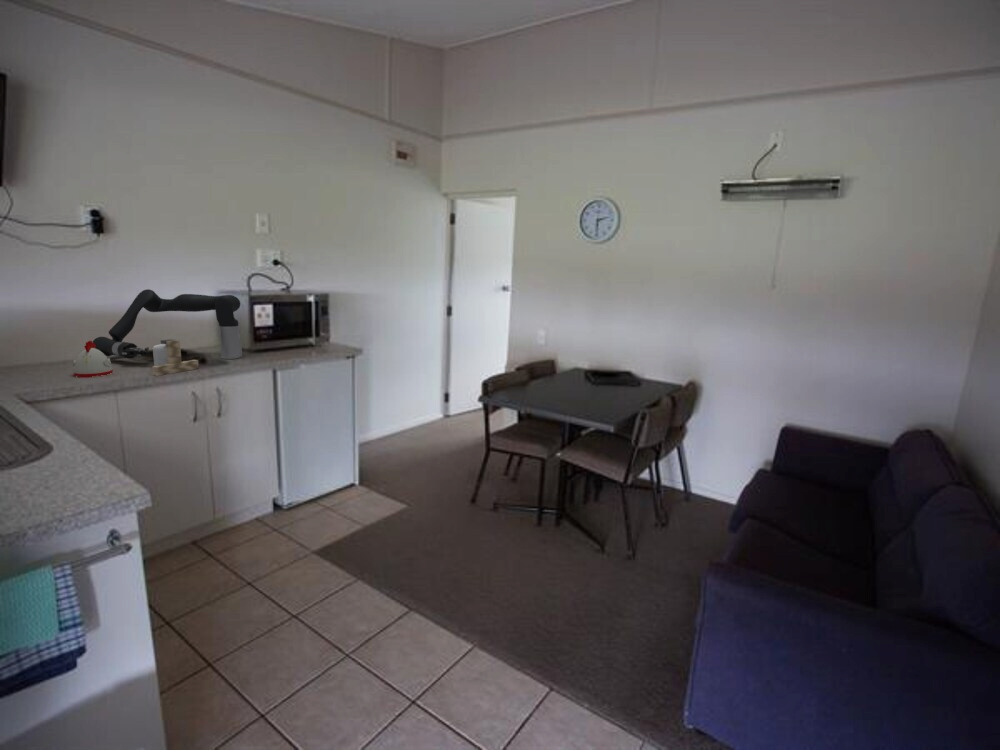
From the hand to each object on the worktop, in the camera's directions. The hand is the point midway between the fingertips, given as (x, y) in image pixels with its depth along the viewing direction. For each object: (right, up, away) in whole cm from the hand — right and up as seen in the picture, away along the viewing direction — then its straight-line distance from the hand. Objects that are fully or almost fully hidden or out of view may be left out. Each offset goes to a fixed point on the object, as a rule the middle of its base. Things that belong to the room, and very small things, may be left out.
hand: (147, 353), depth 251 cm
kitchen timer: (-13, -10, -16) cm, 23 cm away
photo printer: (+12, -8, -4) cm, 15 cm away
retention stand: (+16, -8, -6) cm, 19 cm away
